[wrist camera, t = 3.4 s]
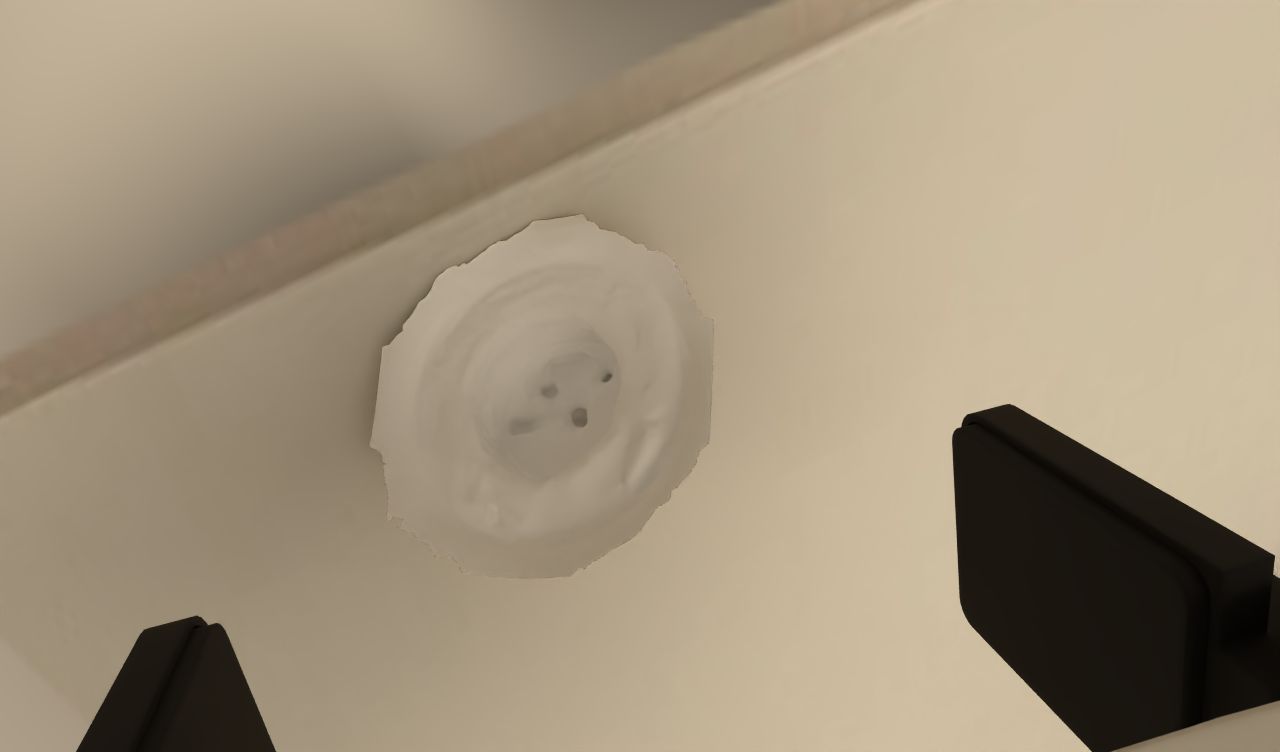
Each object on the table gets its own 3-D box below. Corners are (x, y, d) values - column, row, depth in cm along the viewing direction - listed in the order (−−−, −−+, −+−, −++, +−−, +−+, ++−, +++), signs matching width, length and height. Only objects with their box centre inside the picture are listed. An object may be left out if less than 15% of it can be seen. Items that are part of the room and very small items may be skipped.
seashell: (510, 370, 26) (423, 626, 21) (413, 240, 22) (281, 514, 17) (772, 338, 23) (741, 630, 18) (710, 181, 19) (650, 496, 14)
